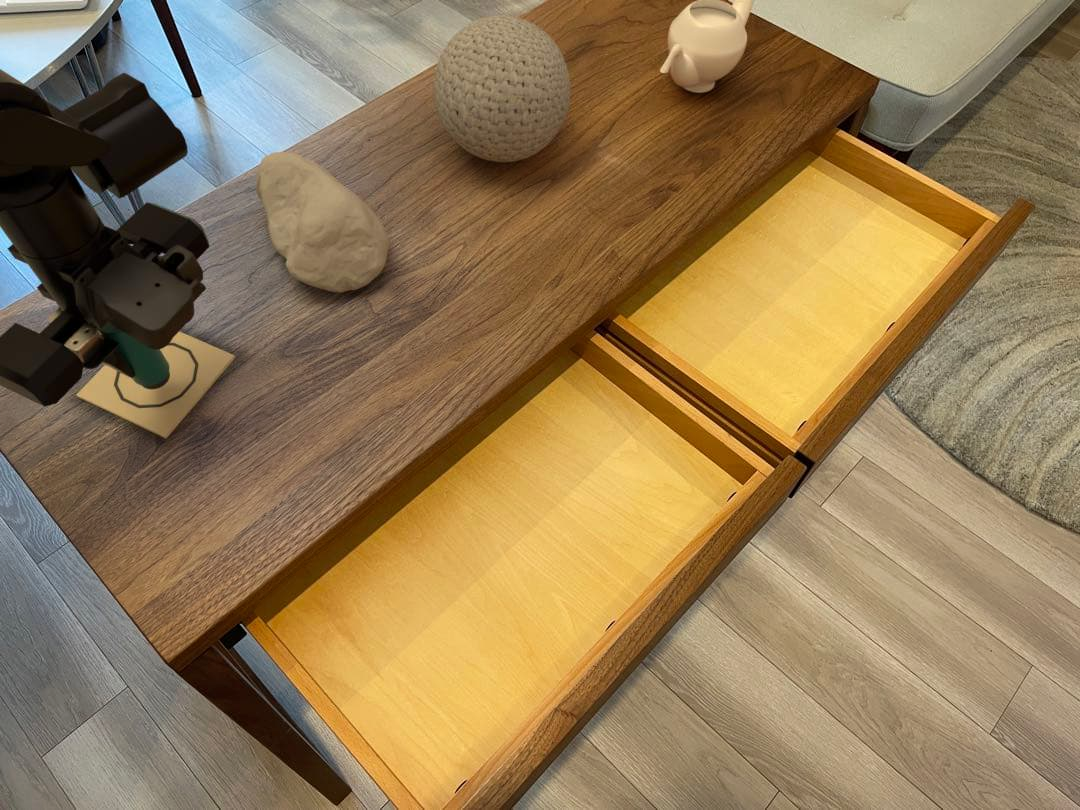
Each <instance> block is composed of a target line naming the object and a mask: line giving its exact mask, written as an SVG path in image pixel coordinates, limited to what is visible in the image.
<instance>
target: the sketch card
mask: <svg viewBox="0 0 1080 810" xmlns="http://www.w3.org/2000/svg"><path fill="white" fill-rule="evenodd" d="M160 350H161V352H162V353H163V355H164V357H165V358H166V360H167V362H168V363H169V366H170V369H169V372H170V378H169V380H168V382H167V383H166V384H165V385H164V386H162V387H160V388H158V389H146V388H144V387H143V386H142V385H139V384H137V383H135V382H134V380H133V379H132V378H130V377H128V376H126V375H124V374H122V373H120V372H118V371H116V370H114V369H112V368H111V367H109V366H107V365H105V364H104V365H103V366H102V367H101V368H100V369H99V370H98V371H97V372H96V373H95V374H94V375H93V377H92V378H91V379H90V380H89V381H88V382H87V383H86V384H85V385H84V386H83V387H82V388H81V389H80V390H79V391H78V392H77V393H76V398H78V399H81V400H83V401H85V402H87V403H89V404H91V405H93V406H95V407H97V408H100V409H101V410H104V411H106V412H108V413H109V414H110V413H111V414H113V415H114V416H117V417H119V418H121V419H123V420H125V421H127V422H130V423H132V424H134V425H136V426H138V427H140V428H142V429H144V430H147V431H149V432H150V433H153V434H155V435H157V436H160V437H161V438H163V439H167V438H168V437H169V436H170V435H171V434H172V432H174V430H175V429H176V428H177V426H178V425H179V424H180V423H181V422H183V419H184V418H185V417H186V416H187V415H188V414H189V413H190V412H191V410H192V409H193V408H194V407H195V406H196V405H197V403H198V402H199V401H200V400H201V399H202V397H204V395H205V394H206V393H207V392H208V391H209V390H210V388H211V387H212V386H213V385H214V384H215V382H216V381H217V380H219V378H220V376H221V375H222V374H223V373H224V372H225V371H226V370H227V368H228V367H229V366H230V365H231V364H232V363H233V362H234V360H235V359H236V355H234V354H233V353H230V352H228V351H225V350H223V349H221V348H219V347H216V346H214V345H212V344H210V343H207V342H205V341H202V340H200V339H198V338H196V337H193V336H191V335H189V334H186V333H184V332H182V331H181V330H180V331H179V332H178V333H177V334H176V335H175V336H174V337H173V339H172V340H171V342H170V343H169V344H168V345H167V346H166V347H164V348H162V349H160Z"/></svg>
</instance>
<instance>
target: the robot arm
mask: <svg viewBox="0 0 1080 810" xmlns="http://www.w3.org/2000/svg"><path fill="white" fill-rule="evenodd" d="M158 103H159V102H157V101H156V100H155V99H154V98H153V97H152V96H151V95H150V93H149V91H148V88H147V86H146V84H145V83H144V82H143V81H141V80H139V79H137V78H136V77H134V76H132V75H130V74H128V73H127V72H122V73H119V74H118V75H117V76H115V77H113V78H112V79H110V80H109V81H108V82H107V83H106V84H105V85H103V86H102V87H101V88H99V89H98V90H96V91H94V92H93V93H91V94H89V95H88V96H86V97H84V98H82V99H80V100H79V101H76V102H75V103H73V104H72V105H70V106H69V107H67V108H64V109H63V110H62V109H60V108H58V107H57V106H56V105H54V104H53V103H51V102H49V101H48V100H46V99H44V98H42V97H41V95H40V94H39V93H38V92H37V91H36V90H34V89H33V88H32V87H30V86H29V85H27V84H25V83H24V82H22V81H20V80H18V79H17V78H15V77H14V76H12V75H11V74H9V73H7V72H6V71H5V70H3V69H1V68H0V229H1V230H2V231H3V232H4V234H5V235H6V237H7V238H8V239H9V241H10V242H11V245H10V246H9V247H7V251H8V252H9V253H10V255H11V256H12V257H13V258H14V259H15V260H16V261H19V262H21V263H24V264H27V265H28V267H29V268H30V269H31V271H32V272H33V273H34V275H35V276H36V277H37V278H38V281H40V284H38V286H37V287H36V289H37V290H38V291H39V293H40V294H41V295H42V297H44V298H46V299H49V300H50V301H53V302H55V303H56V304H57V306H58V307H57V308H56V310H54V311H53V312H52V313H51V314H50V315H49V316H48V317H47V318H46V322H47V323H48V324H47V326H46V327H45V328H44V329H42V330H41V332H37V331H35V330H33V329H31V328H28V327H26V326H24V325H22V324H19V323H17V322H15V323H13V324H12V325H11V326H10V327H9V328H8V329H7V330H6V331H5V332H3V333H2V335H0V386H1V387H3V388H4V389H7V390H9V391H11V392H13V393H15V394H17V395H20V396H22V397H24V398H26V399H27V400H31V401H32V402H34V403H36V404H38V405H39V406H42V407H49V406H53V405H57V404H58V402H60V401H61V399H62V398H63V397H65V395H66V394H67V393H69V391H70V390H71V389H72V388H73V387H74V386H75V385H76V384H77V383H78V382H79V381H80V380H81V379H82V377H83V372H84V369H85V370H95V369H97V368H99V366H101V365H102V364H104V365H107V366H109V367H111V368H112V369H114V370H116V371H118V372H120V373H122V374H124V375H126V376H128V377H130V378H133V377H134V376H135V373H134V371H133V369H132V367H131V366H130V364H129V363H128V362H127V361H126V360H125V358H124V357H123V356H122V355H121V354H120V352H119V351H118V350H117V349H116V348H117V347H118V346H119V345H120V343H119V342H116V341H114V340H112V339H110V338H107V337H105V336H103V335H101V333H100V332H99V330H98V328H97V327H99V328H102V327H103V326H104V325H105V324H106V323H107V322H108V321H109V322H110V323H111V324H112V325H113V326H115V327H116V328H118V329H120V330H121V331H123V332H125V333H126V334H128V335H130V336H131V337H133V338H134V339H136V340H138V341H139V342H140V343H141V344H143V345H144V346H146V347H148V348H150V349H155V350H158V349H162V348H164V347H166V346H167V345H168V344H169V343H170V342H171V340H172V339H173V337H174V336H175V335H176V334H177V333H178V332H179V331H180V332H181V330H182V329H183V328H184V327H185V326H186V324H188V323H190V322H191V321H192V319H193V318H194V316H195V302H196V300H198V299H199V297H200V296H201V295H202V294H203V293H204V292H205V291H206V290H207V287H206V286H205V284H204V283H203V282H202V281H203V280H204V272H203V269H202V266H201V265H200V263H199V261H198V260H199V259H200V257H202V255H203V254H204V253H205V252H207V250H209V248H210V241H209V239H208V236H207V234H206V231H205V229H204V227H203V226H202V225H201V224H200V223H199V222H198V220H196V219H195V218H193V217H190V216H187V215H185V214H183V213H181V212H177V211H175V210H172V209H170V208H167V207H165V206H163V205H160V204H157V203H153V202H145V203H143V205H142V206H141V207H139V209H138V210H137V211H136V212H134V213H133V214H132V215H131V216H130V217H129V218H128V219H126V221H125V222H124V223H123V224H121V225H120V226H119V227H118V228H117V229H113V228H111V227H109V226H107V225H105V224H104V223H103V221H102V218H101V217H100V215H99V214H98V212H97V210H96V209H95V207H94V205H93V204H92V202H91V200H90V198H89V197H88V195H87V193H86V192H85V190H84V188H83V186H82V185H81V183H80V181H81V182H82V183H83V184H84V185H85V186H86V187H87V188H88V189H90V190H91V191H93V192H94V193H96V194H102V193H104V192H105V191H108V192H109V193H111V194H112V195H114V196H115V198H117V199H122V198H125V197H126V196H128V195H129V194H132V192H134V191H136V190H137V189H139V188H140V187H142V186H143V185H145V184H146V183H148V182H149V181H151V180H153V179H154V178H155V177H157V176H158V175H160V174H161V173H163V172H165V171H166V170H167V169H169V168H171V167H172V166H174V165H175V164H176V163H178V162H180V161H181V160H182V159H185V157H187V156H188V152H189V149H188V144H187V140H186V138H185V136H184V134H183V132H182V130H180V128H179V127H177V126H176V125H175V123H174V122H173V120H172V119H171V118H170V116H169V115H168V113H166V111H165V110H164V109H163V108H162V106H160V104H158ZM79 180H80V181H79ZM161 254H163V255H161Z"/></svg>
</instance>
